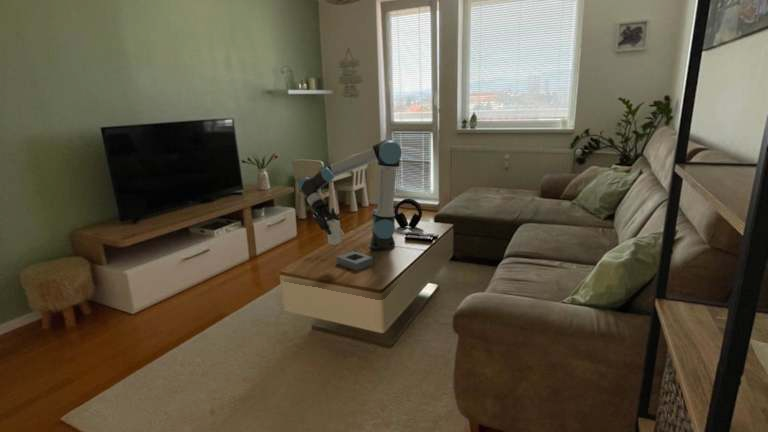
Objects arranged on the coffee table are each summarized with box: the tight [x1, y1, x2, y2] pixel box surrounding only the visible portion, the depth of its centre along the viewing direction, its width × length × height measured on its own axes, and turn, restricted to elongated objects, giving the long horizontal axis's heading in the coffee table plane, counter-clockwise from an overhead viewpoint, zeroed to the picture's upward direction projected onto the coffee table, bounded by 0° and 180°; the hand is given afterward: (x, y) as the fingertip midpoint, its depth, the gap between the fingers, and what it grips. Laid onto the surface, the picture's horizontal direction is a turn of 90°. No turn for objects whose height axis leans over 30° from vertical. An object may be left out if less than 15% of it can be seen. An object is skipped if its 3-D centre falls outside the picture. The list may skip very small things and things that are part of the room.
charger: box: [326, 219, 342, 246], centre depth 224 cm, size 5×5×12 cm
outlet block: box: [336, 250, 374, 272], centre depth 230 cm, size 16×12×4 cm
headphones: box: [393, 198, 423, 229], centre depth 293 cm, size 19×7×20 cm, turn 73°
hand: (338, 237), depth 222 cm, fingers closed on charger, 5 cm apart
